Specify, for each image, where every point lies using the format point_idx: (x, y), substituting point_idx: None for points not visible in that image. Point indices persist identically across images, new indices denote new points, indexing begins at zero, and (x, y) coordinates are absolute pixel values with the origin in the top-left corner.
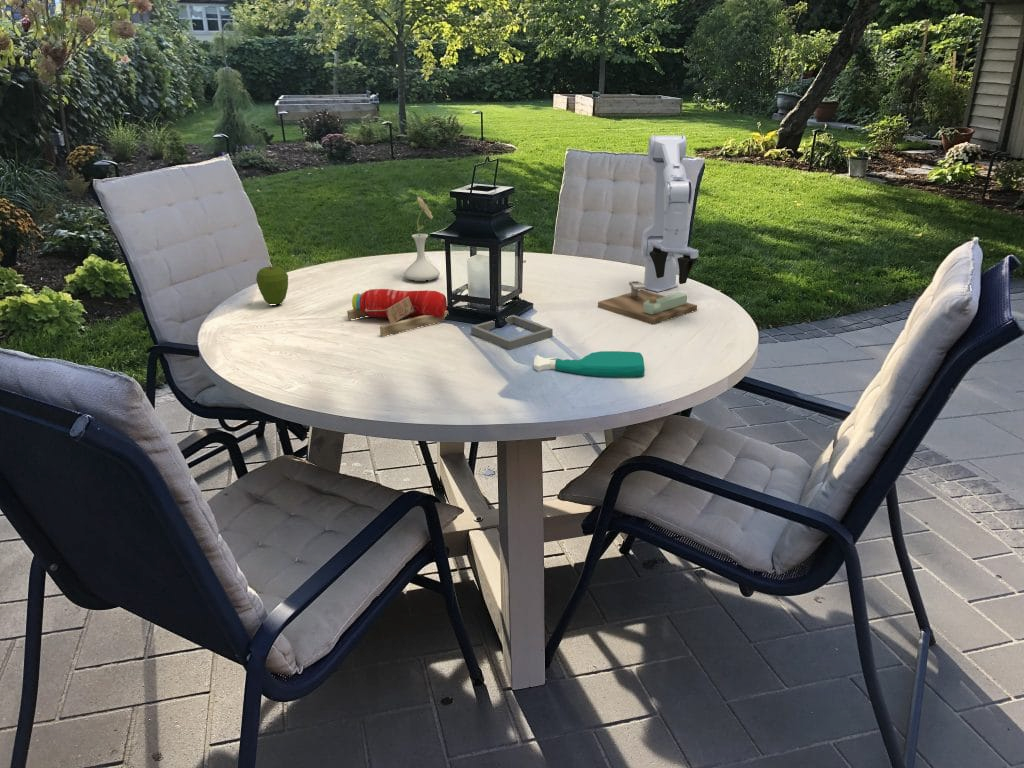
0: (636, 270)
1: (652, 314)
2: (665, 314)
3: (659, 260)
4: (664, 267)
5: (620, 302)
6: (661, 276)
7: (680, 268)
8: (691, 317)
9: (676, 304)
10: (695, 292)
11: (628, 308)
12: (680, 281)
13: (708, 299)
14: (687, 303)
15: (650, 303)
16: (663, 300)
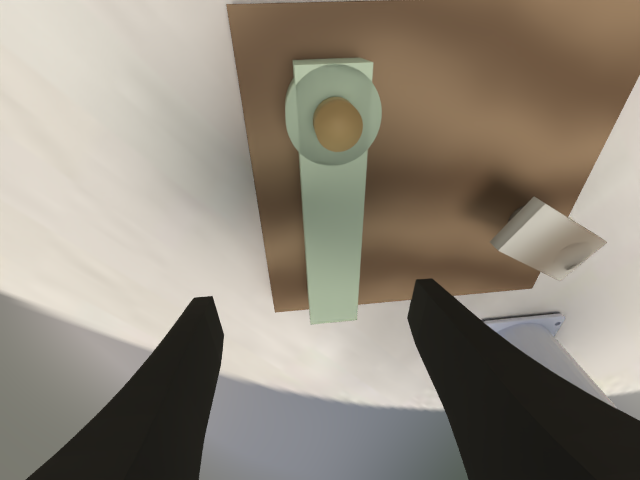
0: (611, 382)
1: None
2: (257, 135)
3: (497, 423)
4: (435, 383)
5: (548, 100)
6: (412, 308)
7: (129, 422)
8: (225, 238)
9: (305, 252)
10: (394, 381)
11: (464, 49)
12: (189, 309)
13: (330, 372)
14: None
15: (332, 91)
16: (320, 198)
